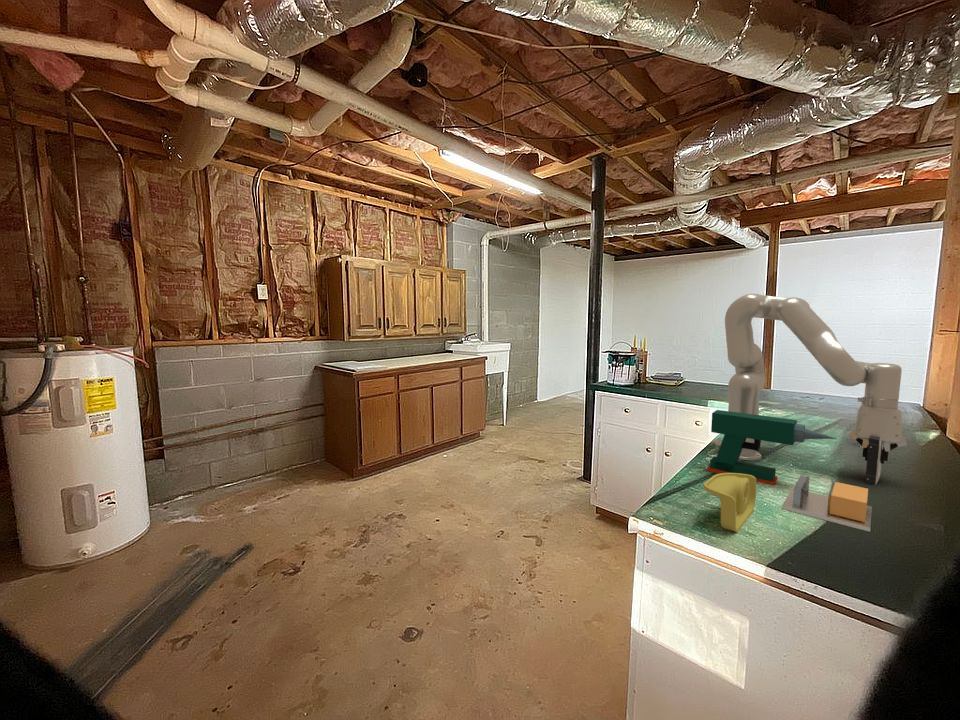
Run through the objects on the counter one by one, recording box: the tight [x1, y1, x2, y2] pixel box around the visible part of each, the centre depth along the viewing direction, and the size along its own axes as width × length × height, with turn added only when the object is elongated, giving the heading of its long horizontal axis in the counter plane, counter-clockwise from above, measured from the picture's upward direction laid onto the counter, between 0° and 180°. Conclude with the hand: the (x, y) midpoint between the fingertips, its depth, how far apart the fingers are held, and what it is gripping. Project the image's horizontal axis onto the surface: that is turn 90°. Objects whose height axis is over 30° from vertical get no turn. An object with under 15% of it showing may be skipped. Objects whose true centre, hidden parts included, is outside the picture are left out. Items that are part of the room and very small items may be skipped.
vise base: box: [781, 474, 873, 533], centre depth 108 cm, size 17×16×6 cm
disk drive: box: [864, 436, 884, 486], centre depth 127 cm, size 10×3×15 cm, turn 131°
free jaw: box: [827, 481, 869, 522], centre depth 105 cm, size 7×12×5 cm, turn 135°
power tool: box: [707, 409, 838, 486], centre depth 127 cm, size 32×7×20 cm, turn 47°
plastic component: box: [703, 473, 757, 533], centre depth 104 cm, size 20×7×10 cm, turn 134°
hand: (874, 460), depth 127 cm, fingers open, 3 cm apart
